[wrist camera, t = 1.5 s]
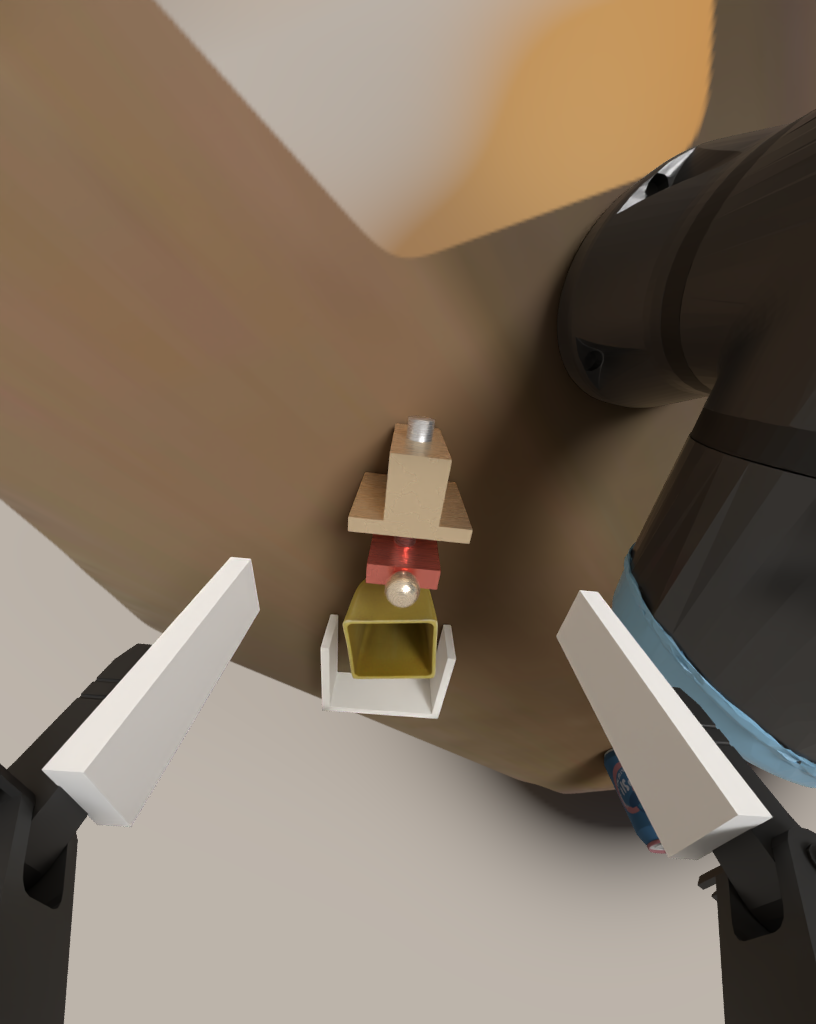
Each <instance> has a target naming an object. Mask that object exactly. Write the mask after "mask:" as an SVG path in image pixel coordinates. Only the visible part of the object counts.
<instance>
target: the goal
mask: <svg viewBox="0 0 816 1024" xmlns="http://www.w3.org/2000/svg"><path fill="white" fill-rule="evenodd" d="M455 661H456V655H455V649H454V642H453V635H452V629H451V625H443V629H442V633H441V636H440V640H439V644H438V648H437V652H436V673H435V676H434V678H430V679H354V678H353V677H352V674H351V673H347V672H338V615H334V614H331V615H330V618H329V621H328V625H327V628H326V631H325V635H324V638H323V641H322V645H321V683H322V710H324V711H338V712H352V713H365V714H379V715H393V716H406V717H420V718H434V719H438V716H439V713H440V710H441V707H442V703H443V700H444V697H445V694H446V690H447V687H448V684H449V680H450V677H451V674H452V671H453V667H454V664H455Z"/></svg>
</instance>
